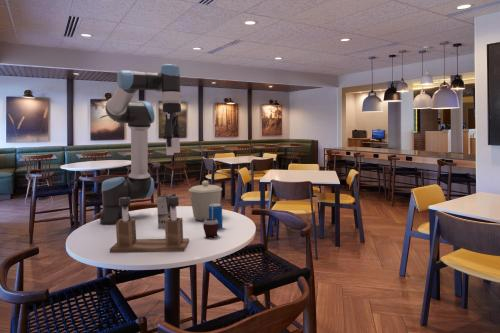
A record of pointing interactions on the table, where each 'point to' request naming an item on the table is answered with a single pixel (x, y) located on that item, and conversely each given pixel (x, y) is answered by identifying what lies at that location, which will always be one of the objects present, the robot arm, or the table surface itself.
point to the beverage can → (216, 213)
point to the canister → (204, 199)
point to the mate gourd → (211, 226)
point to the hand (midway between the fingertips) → (173, 153)
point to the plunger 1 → (124, 207)
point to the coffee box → (163, 209)
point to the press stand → (131, 244)
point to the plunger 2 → (173, 207)
